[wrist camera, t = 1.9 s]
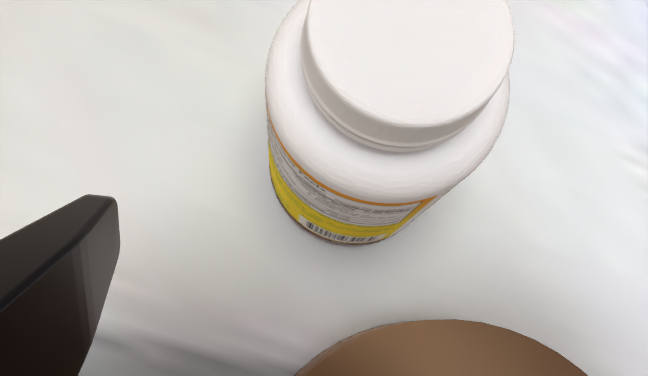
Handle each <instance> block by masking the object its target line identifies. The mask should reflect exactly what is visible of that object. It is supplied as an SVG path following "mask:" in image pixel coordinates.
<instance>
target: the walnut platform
mask: <svg viewBox="0 0 648 376" xmlns="http://www.w3.org/2000/svg"><path fill="white" fill-rule="evenodd" d="M294 376H587V375H586V374H585V373H584V372H583V371H582V370H581V369H579V368H578V367H577V366H575V365H574V364H573V363H571V362H570V361H569V360H567V359H566V358H564V357H563V356H562V355H560V354H559V353H557V352H555V351H554V350H552V349H550V348H548V347H547V346H545V345H543V344H541V343H539V342H538V341H536V340H534V339H531V338H529V337H526V336H524V335H521V334H519V333H516V332H514V331H511V330H509V329H505V328H501V327H497V326H493V325H489V324H486V323H481V322H472V321H464V320H422V321H409V322H401V323H395V324H388V325H382V326H379V327H376V328H372V329H369V330H366V331H362V332H359V333H357V334H355V335H353V336H350V337H348V338H346V339H344V340H342V341H340V342H338V343H336V344H334V345H333V346H331V347H330V348H328V349H326V350H325V351H323V352H322V353H320V354H319V355H317V356H316V357H315V358H313V359H312V360H311V361H310V362H309V363H307V364H306V365H305V366H304V367H303V368H301V369H300V370H299V371H298V372H297V373H296V374H295V375H294Z"/></svg>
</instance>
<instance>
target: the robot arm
mask: <svg viewBox="0 0 648 376" xmlns="http://www.w3.org/2000/svg"><path fill="white" fill-rule="evenodd" d="M119 251H120V233H119V219H118V206H117V202H116V200H115V199H114V198H113V197H109V196H100V195H90V194H88V195H85V196H82V197H80V198H78V199H77V200H75V201H73V202H71V203H69V204H67V205H65V206H63V207H61V208H60V209H58V210H56V211H54V212H52V213H50V214H48V215H46V216H44V217H42V218H41V219H39V220H37V221H35V222H33V223H31V224H29V225H27V226H25V227H23V228H22V229H20V230H18V231H16V232H14V233H12V234H10V235H8V236H6V237H4V238H3V239H1V240H0V376H78V374H79V372H80V370H81V367H82V365H83V363H84V361H85V358H86V356H87V354H88V351H89V349H90V346H91V344H92V341H93V338H94V335H95V332H96V329H97V325H98V322H99V319H100V316H101V312H102V309H103V306H104V303H105V299H106V296H107V293H108V289H109V286H110V283H111V280H112V276H113V273H114V270H115V267H116V263H117V260H118V257H119Z"/></svg>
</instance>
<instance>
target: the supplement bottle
mask: <svg viewBox="0 0 648 376" xmlns="http://www.w3.org/2000/svg"><path fill="white" fill-rule="evenodd" d="M514 35H515V33H514V26H513V19H512V15H511V12H510V8H509V6H508V3H507V1H506V0H299V1H298V2H297V3H296V4H295V5H294V6H293V7H292V9H291V10H290V11H289V12H288V14H287V15H286V17H285V18H284V19H283V21H282V23H281V24H280V26H279V28H278V30H277V32H276V34H275V36H274V38H273V41H272V44H271V47H270V50H269V55H268V59H267V64H266V77H265V95H266V108H267V129H268V147H269V168H270V175H271V181H272V184H273V187H274V190H275V193H276V196H277V198H278V200H279V202H280V204H281V205H282V207H283V208H284V210H285V211H286V213H287V214H288V215H289V216H290V218H291V219H292V220H293V221H294V222H295V223H296V224H297V225H299V226H300V227H301V228H302V229H304V230H305V231H306V232H308V233H310V234H311V235H313V236H315V237H317V238H319V239H321V240H324V241H327V242H330V243H334V244H339V245H347V246H356V245H367V244H371V243H375V242H379V241H381V240H384V239H386V238H388V237H390V236H392V235H394V234H396V233H397V232H399V231H400V230H402V229H403V228H404V227H406V226H407V225H408V224H409V223H411V222H412V221H413V220H414V219H416V218H417V217H418V216H419V215H420V214H422V213H423V212H424V211H425V210H427V209H428V208H429V207H430V206H432V205H433V204H434V203H435V202H436V201H438V200H439V199H440V198H441V197H442V196H444V195H445V194H446V193H447V192H449V191H450V190H451V189H452V188H453V187H455V186H456V185H457V184H458V183H459V182H461V181H462V180H463V179H465V178H466V177H467V176H468V175H469V174H471V173H472V172H473V171H474V170H475V169H476V168H477V167H478V166H479V165H480V164H481V162H482V161H483V160H484V159H485V158H486V156H487V155H488V154H489V152H490V151H491V149H492V148H493V146H494V144H495V142H496V140H497V139H498V137H499V135H500V133H501V130H502V127H503V125H504V122H505V118H506V115H507V110H508V104H509V93H510V82H509V72H508V70H509V67H510V64H511V61H512V56H513V51H514Z"/></svg>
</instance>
